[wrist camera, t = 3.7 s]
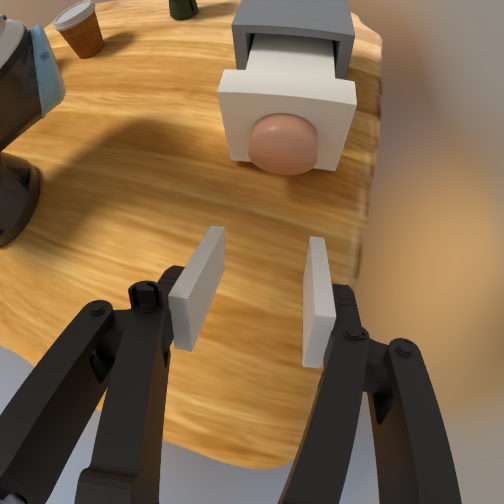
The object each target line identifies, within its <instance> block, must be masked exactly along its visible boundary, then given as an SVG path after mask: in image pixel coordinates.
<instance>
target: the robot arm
mask: <svg viewBox="0 0 504 504" xmlns="http://www.w3.org/2000/svg"><path fill="white" fill-rule="evenodd" d="M65 92H66V89H65V85H64V81H63V78H62V75H61V72H60V70H59V67H58V64H57V62H56V59H55V56H54V54H53V51H52V48H51V46H50V43H49V41H48V38H47V36H46V34H45V32H44V30H43V28H42V26H41V25H37V26H35V27H31V28H30V30H29V31H28V30H27V29H26V27H25V26H24V24H23V23H22V22H21V21H19V20H13V21H4V20H3V18H2V17H1V15H0V246H3V245H5V244H7V243H9V242H10V241H12V240H13V239H14V238H15V237H16V236H17V235H18V234H19V233H20V232H21V231H22V230H23V228H24V227H25V225H26V224H27V222H28V221H29V219H30V217H31V215H32V213H33V211H34V208H35V206H36V203H37V200H38V196H39V190H40V178H39V174H38V171H37V170H36V168H35V167H34V166H33V165H31V164H30V163H29V162H28V161H27V160H25V159H23V158H20V157H17V156H14V155H11V154H8V153H4V152H2V150H3V149H5V148H6V147H7V146H8V145H9V144H10V143H12V142H13V141H14V140H15V139H16V138H17V137H19V136H20V135H21V134H22V133H24V132H25V131H26V130H27V129H29V128H30V127H31V126H32V125H34V124H35V123H36V122H38V121H39V120H40V119H43V118H44V117H45V116H46V114H47V113H48V112H50V111H51V110H52V109H53V108H55V107H56V106H57V105H59V104H60V103H61V102H62V100H63V99H64V96H65ZM224 251H225V227H224V226H215V225H211V226H210V228H209V230H208V231H207V233H206V234H205V236H204V238H203V239H202V241H201V242H200V244H199V245H198V247H197V249H196V250H195V252H194V254H193V255H192V257H191V258H190V260H189V262H188V263H187V265H186V267H182V266H174V265H173V266H172V267H170V268H168V269H167V270H165V272H164V273H163V275H162V276H161V278H160V279H159V280H158V283H156V282H154V281H140V282H137V283H135V284H133V285H132V286H130V288H129V289H128V293H129V298H130V303H131V309H127V310H113V308H112V305H111V304H110V303H109V302H107V301H105V300H96V301H92V302H90V303H88V304H87V305H85V306H84V307H83V309H82V310H81V311H80V312H79V313H78V314H77V316H76V317H75V318H74V319H73V320H72V321H71V323H70V324H69V325H68V326H67V327H66V329H65V330H64V331H63V332H62V334H61V335H60V336H59V337H58V338H57V340H56V341H55V342H54V343H53V345H52V346H51V347H50V348H49V350H48V351H47V352H46V354H45V355H44V356H43V357H42V359H41V360H40V361H39V363H38V364H37V365H36V366H35V368H34V369H33V370H32V372H31V373H30V374H29V376H28V377H27V379H26V380H25V381H24V382H23V384H22V385H21V387H20V388H19V389H18V391H17V392H16V393H15V395H14V396H13V398H12V399H11V401H10V402H9V404H8V405H7V406H6V408H5V409H4V411H3V412H2V414H1V415H0V504H45V503H46V502H47V500H48V498H49V496H50V495H51V493H52V491H53V489H54V487H55V485H56V483H57V480H58V479H59V477H60V474H61V473H62V471H63V469H64V467H65V464H66V463H67V461H68V459H69V457H70V455H71V453H72V451H73V449H74V447H75V445H76V444H77V442H78V440H79V438H80V436H81V434H82V432H83V430H84V429H85V427H86V425H87V423H88V421H89V419H90V418H91V416H92V413H93V412H94V410H95V408H96V407H97V405H98V403H99V401H100V400H101V398H102V396H103V394H104V392H105V391H106V389H107V392H106V396H105V400H104V404H103V408H102V412H101V417H100V421H99V425H98V430H97V434H96V439H95V444H94V449H93V454H92V459H91V464H90V466H89V467H88V468H86V469H83V470H82V472H81V474H80V476H79V479H78V484H77V491H76V496H75V503H74V504H159V481H160V464H161V448H162V436H163V424H164V413H165V402H166V392H167V383H168V374H169V365H170V357H171V353H170V345H171V343H172V341H174V348H176V349H181V350H186V351H192V350H193V348H194V345H195V342H196V340H197V337H198V335H199V332H200V330H201V327H202V325H203V322H204V320H205V317H206V315H207V312H208V309H209V307H210V304H211V302H212V299H213V297H214V294H215V292H216V289H217V287H218V284H219V282H220V279H221V277H222V274H223V272H224ZM323 360H324V370H323V373H322V376H321V379H320V382H319V385H318V390H317V393H316V396H315V400H314V403H313V406H312V409H311V413H310V416H309V419H308V422H307V425H306V428H305V431H304V434H303V437H302V440H301V443H300V446H299V449H298V452H297V454H296V457H295V460H294V463H293V466H292V468H291V471H290V474H289V476H288V479H287V481H286V484H285V487H284V489H283V492H282V494H281V497H280V499H279V502H278V504H339V500H340V497H341V493H342V489H343V486H344V482H345V478H346V474H347V470H348V465H349V461H350V457H351V452H352V448H353V443H354V438H355V433H356V428H357V423H358V417H359V412H360V406H361V400H362V393H363V391H364V392H367V395H368V401H369V408H370V415H371V422H372V429H373V438H374V447H375V455H376V465H377V476H378V487H379V502H380V504H462V503H461V497H460V492H459V486H458V481H457V477H456V472H455V467H454V463H453V458H452V454H451V450H450V446H449V442H448V438H447V435H446V431H445V427H444V424H443V420H442V417H441V413H440V410H439V406H438V403H437V400H436V396H435V393H434V390H433V387H432V384H431V381H430V378H429V375H428V372H427V370H426V366H425V364H424V361H423V358H422V355H421V352H420V350H419V348H418V347H417V345H416V344H414V343H413V342H412V341H410V340H407V339H403V338H397V339H394V340H392V341H391V342H390V343H389V345H386V344H382V343H379V342H376V341H374V340H372V339H370V338H369V333H368V332H367V331H366V329H364V328H363V327H361V322H360V317H359V314H358V308H357V304H356V301H355V295H354V292H353V291H352V290H351V288H350V287H349V286H348V285H339V284H332V283H331V277H330V270H329V264H328V257H327V251H326V245H325V240H324V238H323V237H315V236H310V240H309V246H308V253H307V259H306V265H305V271H304V277H303V367H310V368H321V367H322V364H323ZM107 387H108V388H107Z"/></svg>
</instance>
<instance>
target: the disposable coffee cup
mask: <svg viewBox="0 0 504 504" xmlns="http://www.w3.org/2000/svg"><path fill="white" fill-rule="evenodd" d="M54 25H55V26H54V29H55V30H57V31H59V32H60V34H61V35H62V36H63V37H64V39H65V40H66V41H67V42H68V44H69V45H70V46H71V48H72V49H73V50H74V51H75V53H76V54H77V55H78V56H79V58H81V59H85V58H88V57H90V56H92V55H94V54H96V53H97V52H98V51H100V50H101V49H102V47H103V46H104V42H103V39H102V35H101V32H100V28H99V25H98V21H97V17H96V13H95V4H93V3H92V2H91V1H89V0H87V1H83V2H80V3H77V4H75V5H73V6H71V7H69V8H68V9H66V10H65V11H63V12H62V13H61V14H60V15H59V16H58V17H57V18H56V19H55V20H54Z"/></svg>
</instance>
